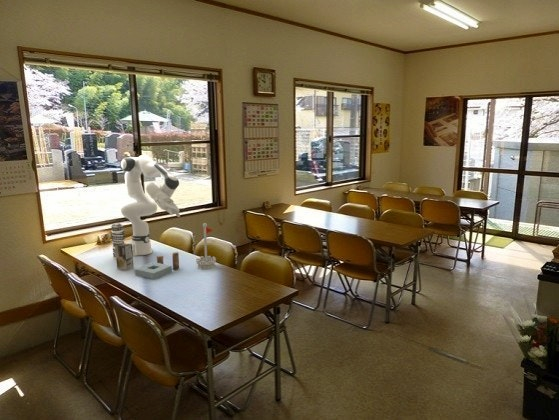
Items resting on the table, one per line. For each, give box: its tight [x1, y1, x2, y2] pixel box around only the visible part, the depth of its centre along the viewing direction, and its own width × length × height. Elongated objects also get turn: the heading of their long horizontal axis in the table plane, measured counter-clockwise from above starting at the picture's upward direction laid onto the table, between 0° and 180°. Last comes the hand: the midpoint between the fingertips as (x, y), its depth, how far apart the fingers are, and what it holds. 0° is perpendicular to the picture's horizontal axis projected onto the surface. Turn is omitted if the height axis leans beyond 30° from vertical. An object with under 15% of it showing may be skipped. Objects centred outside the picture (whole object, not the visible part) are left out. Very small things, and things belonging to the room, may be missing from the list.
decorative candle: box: [110, 222, 126, 260], centre depth 290 cm, size 9×9×25 cm
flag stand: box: [195, 222, 217, 270], centre depth 270 cm, size 13×13×30 cm
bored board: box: [134, 261, 173, 280], centre depth 259 cm, size 16×16×4 cm
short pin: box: [156, 255, 164, 264], centre depth 273 cm, size 4×4×6 cm
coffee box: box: [115, 242, 134, 271], centre depth 268 cm, size 9×6×16 cm
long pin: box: [171, 251, 180, 271], centre depth 266 cm, size 4×4×11 cm
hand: (175, 215), depth 264 cm, fingers open, 8 cm apart
